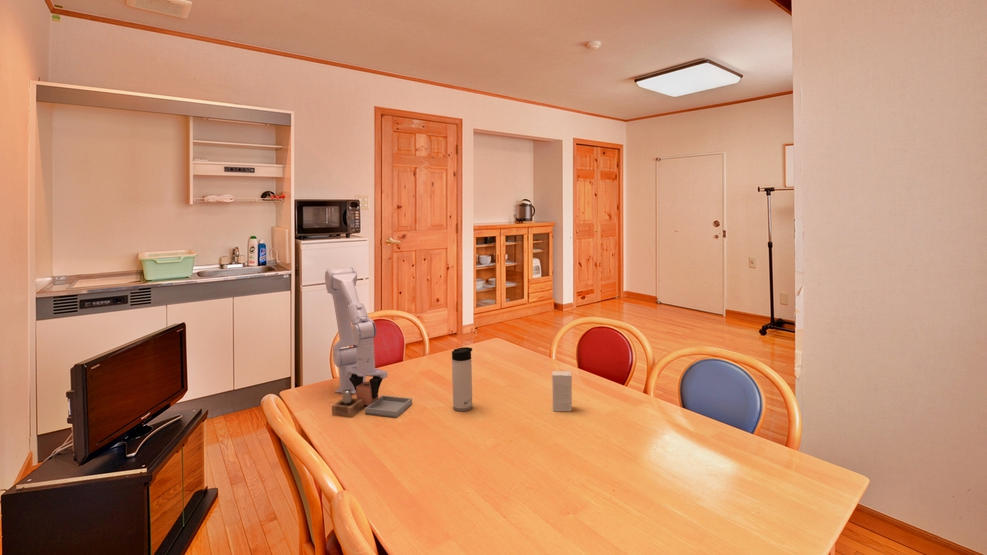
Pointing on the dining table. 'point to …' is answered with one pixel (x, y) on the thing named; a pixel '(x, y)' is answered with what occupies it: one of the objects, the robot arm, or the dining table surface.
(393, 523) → the dining table surface
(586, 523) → the dining table surface
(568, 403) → the skincare box
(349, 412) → the brown square frame
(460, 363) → the travel mug
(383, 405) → the tray
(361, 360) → the robot arm
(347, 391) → the cylinder
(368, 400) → the block
